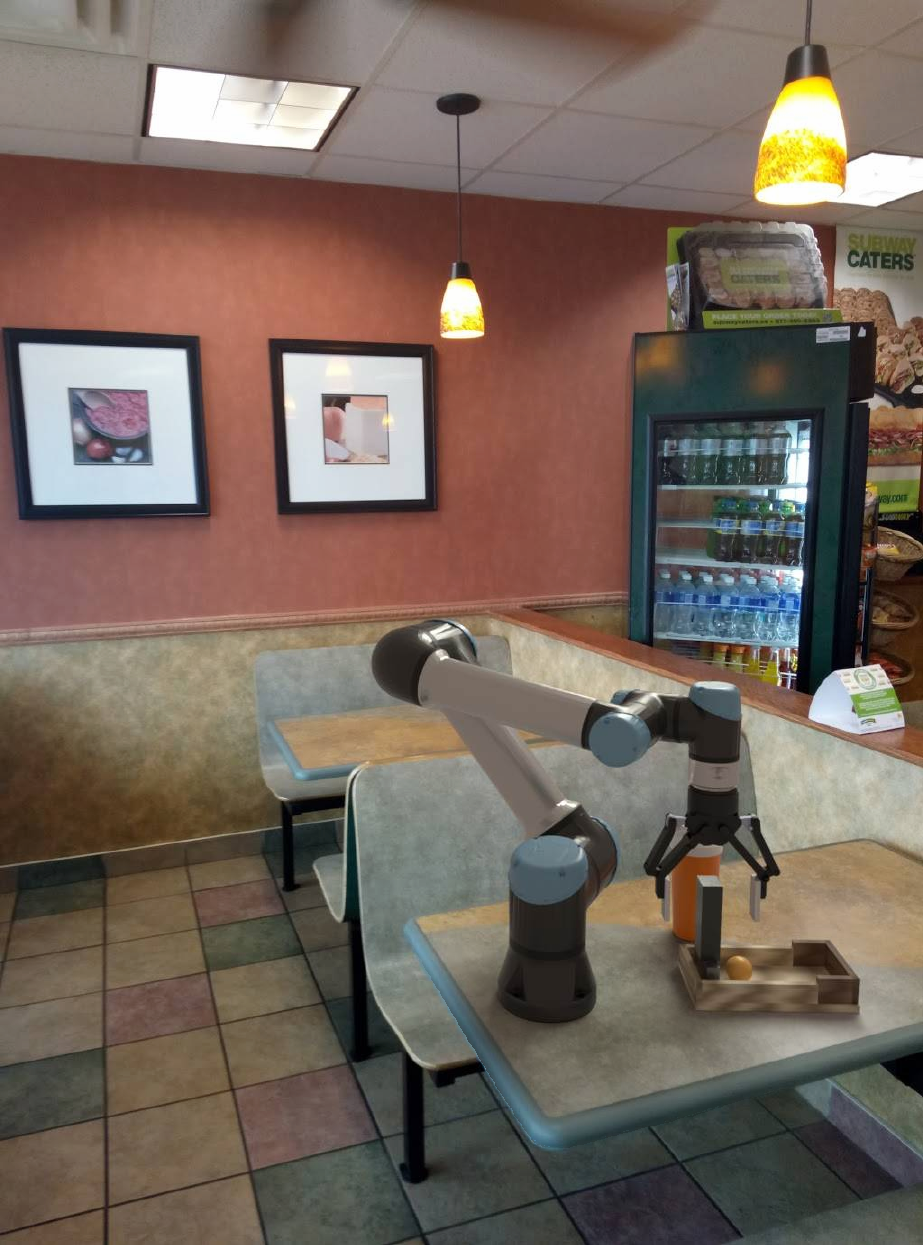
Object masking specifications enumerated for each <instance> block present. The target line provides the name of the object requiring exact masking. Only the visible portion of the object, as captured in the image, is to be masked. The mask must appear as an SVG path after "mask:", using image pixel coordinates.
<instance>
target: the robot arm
mask: <svg viewBox="0 0 923 1245" xmlns="http://www.w3.org/2000/svg"><path fill="white" fill-rule="evenodd" d="M374 646H375V647H374V649H373V652H372V654H371V662H370V664H371V673H372V675H373V678H374V681H375V682H376V683H377V685H378V686H379V688H381V690H382V691H383V692H385V693H386V694H387V695H388V696H390V697H393V698H394V699H397V700H399V701H402V702H404V703H405V702H406V703H408V704H411V705H414V706H418V707H420V708H421V707H422V708H425V709H429V710H430V711H434V712H440V713H442V714H443V715H444V716H445V718H446V719H447V721H448V722H449V723H450V725H451V726H452V728H453V729H454V731H455V733H457V735H458V736H459V738H460V740H462V742H463V744H464V745H465V746H466V748H467V749H468V750H469V752H470V753H471V755H472V756H473V758H474V759H475V761H476V762H477V763H478V765H479V767H480V768H481V769H482V772H484V774H485V775H486V776H487V778H488V779H489V781H490V782H491V784H492V785H493V787H495V789H496V791H497V792H498V793H499V795H500V796H501V798H502V799H503V801H504V802H505V803H506V805H507V806H508V808H509V810H510V811H511V812H512V814H513V815H514V817H515V818H516V819H517V821H518V822H519V823H520V825H521V826H522V828H523V830H524V832H523V834H524V835H523V842H522V843H520V844H519V845H517V846H516V847H515V849H514V850H513V851H512V853H511V855H510V860H509V868H508V869H509V870H508V872H507V876H508V878H507V880H508V920H509V921H508V922H509V923H508V931H509V932H508V948H507V950H506V953H505V957H504V959H503V962H502V965H501V968H500V972H499V973H498V978H497V997H498V1000H499V1002H500V1005H502V1006H503V1007H504V1008H505V1009H506V1010H508V1011H509V1012H510V1013H512V1014H513V1015H516V1016H518V1017H521V1018H523V1019H526V1020H529V1021H534V1022H542V1023H560V1022H568V1021H572V1020H575V1019H578V1018H580V1017H582V1016H585V1015H586V1014H588V1013H589V1012H590V1011H591V1010H592V1009H593V1008H594V1007H595V1005H596V1002H597V988H598V987H597V979H596V977H595V975H594V970H593V968H592V965H591V961H590V958H589V955H588V953H587V947H586V945H587V944H586V939H587V938H586V935H587V912H588V908H590V906H591V905H592V904H593V902H595V900H596V899H597V898H598V897H599V896H600V894H601V893H602V891H604V889H605V888H608V886H610V884H611V882H612V881H613V880H614V879H615V875H616V873H617V872H618V870H619V868H620V864H621V859H622V858H621V857H622V853H621V852H622V849H621V844H620V841H619V838H618V836H617V834H616V833H615V831H614V829H613V828H612V827H611V826H610V825H609V824H608V823H607V822H606V821H605V820H604V819H601V818H599V817H595V816H593V815H589V813H588V812H587V811H586V809H585V808H584V807H583V805H582V804H581V802H579V801H575V800H569V799H567V798H566V796H564V794H563V793H562V791H561V790H560V789H559V788H558V786H557V784H556V782H554V780H553V779H552V777H551V776H550V774H549V773H548V772H547V770H546V769H545V768H544V766H543V765H542V763H541V762H540V761H539V759H538V758H537V756H536V755H535V753H534V752H533V751H532V750H531V748H530V747H529V746H528V744H527V743H526V741H525V740H524V738H523V737H522V736H521V734H520V733H519V732H518V730H520V731H522V732H526V733H530V734H533V735H536V736H539V737H543V738H546V739H549V740H553V741H556V742H559V743H563V744H565V745H569V746H573V747H576V748H579V749H582V750H587V751H589V752H591V753H592V755H593V756H594V757H595V758H596V759H597V760H598V761H599V762H600V763H601V764H603V765H605V766H607V767H609V768H613V769H617V768H619V769H620V768H625V767H628V766H629V765H632V764H633V763H635V762H637V761H639V760H640V759H642V758H643V757H644V756H645V755H646V754H647V752H648V751H649V749H651V748H652V747H653V746H654V745H656V744H657V743H658V742H664V743H672V744H673V743H674V744H685V745H688V762H687V763H688V765H687V767H688V769H687V780H688V782H689V784H688V785H687V795H686V796H687V799H686V800H687V804H686V805H687V806H686V813H685V815H684V816H681V815H674V813H672V812H667V813H666V814H665V819H664V820H665V821H664V825H663V828H662V829H661V832H660V834H659V836H658V837H657V839H656V841H655V843H654V845H653V847H652V848H651V850H650V852H649V854H648V856H647V857H646V859H645V861H644V863H643V865H642V866H643V869H644V871H645V874H646V876H648V877H654V882H655V883H654V886H655V888H654V892H655V894H656V897H657V899H658V900H659V899H660V900H661V912H660V913H661V916H662V919H663V921H664V922H670V919H671V918H670V917H671V916H670V915H671V879H670V877H669V875H670V874H671V873H672V870H673V869H674V868H675V867H676V866H677V865H678V864H679V863H680V861H681V860H682V859H683V858H684V857H685V856H686V855H687V854H688V853H689V852H690V851H691V850H692V849H694V848H695V847H696V846H697V845H698V844H699V843H700V844H702V845H703V846H710V845H717V846H723V847H724V846H725V845H726V844H728V843H729V844H730V845H731V846H732V848H734V850H736V852H737V853H738V854H739V855H740V856H741V857H742V858H743V860H744V861H745V862H746V863H747V865H748V866H749V867H750V868H751V869H752V870H753V871H754V872H755V873H751V874H750V885H749V886H750V888H749V913H748V914H749V915H750V917H751V919H752V920H753V922H754V923H760V916H761V915H760V914H761V900H766V898H767V893H768V882H769V881H770V880H771V878H772V877H773V876H774V877H779V876H780V875H781V870H780V868H779V866H778V864H777V862H776V860H775V858H774V856H773V854H772V852H771V849H770V847H769V846H768V844H767V841H766V839H765V837H764V835H763V833H762V829H761V828H762V827H761V821H760V820H761V819H759V817H758V816H757V815H756V814H755V813H754V812H749V813H748V814H747V815H739V811H740V810H739V809H740V806H739V804H740V789H739V788H738V786H739V784H740V769H741V768H740V763H741V761H740V760H741V759H740V758H741V742H742V741H741V738H742V736H741V735H742V719H743V714H742V696H741V694H742V693H741V691H740V689H739V687H738V686H736V685H735V684H732V683H729V682H725V681H717V680H716V681H714V680H713V681H707V680H705V681H704V680H703V681H702V680H701V681H697V682H694V683H693V684H691V685H690V688H689V692H688V693H685V694H683V693H682V694H681V693H679V694H678V693H670V692H661V691H660V692H659V691H651V690H650V691H648V690H641V689H639V688H635V689H619V690H617V691H615V692H614V693H613V694H612V698H611V699H610V701H605V700H602V699H601V700H600V699H598V698H595V697H591V696H589V695H588V696H587V695H585V694H580V693H577V692H574V691H569V690H565V689H563V688H560V687H556V686H552V685H548V684H544V683H540V682H538V681H534V680H530V679H526V678H522V677H519V676H516V675H512V674H510V673H509V674H508V673H504V672H502V671H498V670H494V669H490V668H486V667H483V666H482V665H481V663H480V662H479V661H478V659H479V658H478V657H479V656H478V652H479V647H478V644H477V642H476V640H475V636H473V634H472V633H471V632H470V630H469V629H467V627H465V626H464V625H462V624H461V623H459V622H458V621H455V620H451V619H446V618H444V619H443V618H434V619H433V618H431V619H428V620H423V621H421V622H419V623H414V624H411V625H407V626H406V625H405V626H401V627H398V628H394V629H392V630H390V631H388V632H387V633H385V634H384V635H383V636H382V637H381V638H380V639H379V640H378V641H377V643H376V644H375V645H374ZM682 825H686V827H687V829H688V831H687V832H686V833H685V834H684V835H683V838H682V839H681V841H680V842H679V843H678V844H677V845H676V846H675V847H674V848H673V849H672V850H671V849H670V851H669V852H668V854H666V852H667V850H668V848H669V847H670V843H671V841H672V839H673V837H674V835H675V831H677V830H679V829H680V827H681V826H682ZM742 826H744V828H745V830H746V831H749V832H750V835H751V837H752V839H753V841H754V842H755V845H756V846H757V848H758V850H759V852H760V855H761V856H762V859H763V860H764V863H765V865H764V866H761V864H760V863H759V861H758V860H757V859H756V858H754V856H753V855H752V854H751V853H750V851H749V850H748V849H747V848H746V846H744V844H743V843H742V841H740V840H739V838H738V837H737V835H735V834H736V833H737V832H738V831H739V829H740V828H741V827H742ZM665 854H666V856H665V857H664V855H665Z"/></svg>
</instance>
